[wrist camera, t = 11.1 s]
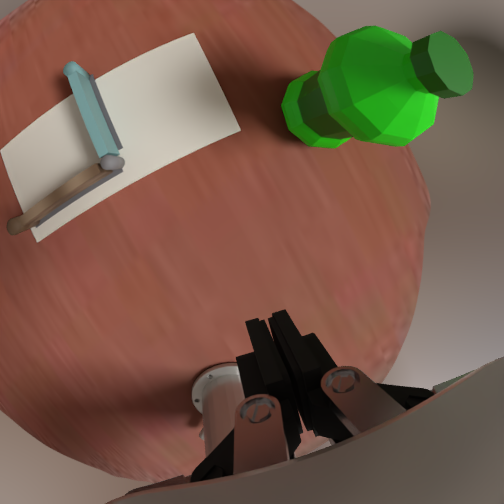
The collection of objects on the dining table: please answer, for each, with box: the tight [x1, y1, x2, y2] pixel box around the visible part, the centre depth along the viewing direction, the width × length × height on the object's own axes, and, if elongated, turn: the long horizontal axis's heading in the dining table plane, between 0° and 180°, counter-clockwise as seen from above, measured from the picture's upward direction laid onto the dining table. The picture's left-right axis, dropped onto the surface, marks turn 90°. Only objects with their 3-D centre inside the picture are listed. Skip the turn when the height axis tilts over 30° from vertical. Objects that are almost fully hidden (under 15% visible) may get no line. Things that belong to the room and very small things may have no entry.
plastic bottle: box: [281, 26, 473, 148], centre depth 24 cm, size 10×10×25 cm
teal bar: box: [63, 62, 125, 170], centre depth 28 cm, size 15×2×5 cm, turn 24°
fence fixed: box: [7, 163, 113, 235], centre depth 30 cm, size 14×2×6 cm, turn 114°
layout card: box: [0, 33, 241, 243], centre depth 32 cm, size 31×16×1 cm, turn 114°
